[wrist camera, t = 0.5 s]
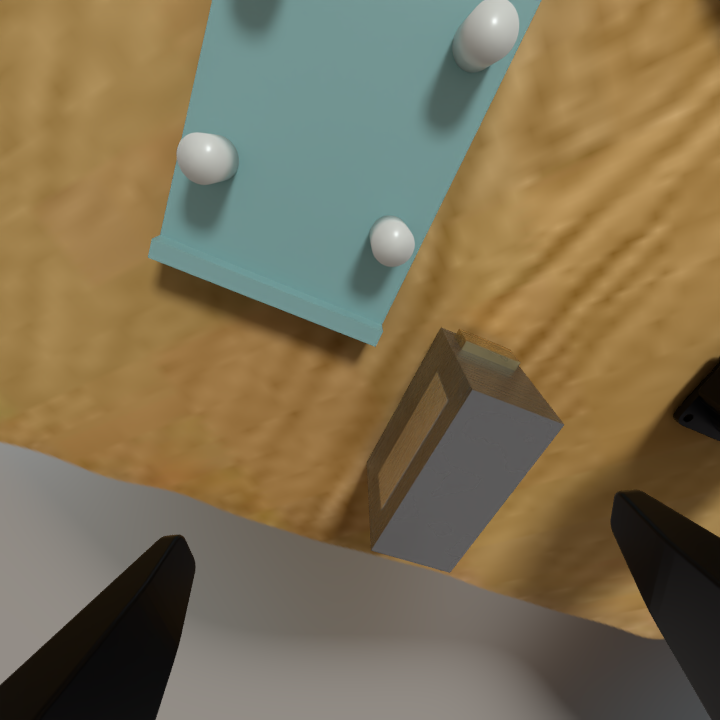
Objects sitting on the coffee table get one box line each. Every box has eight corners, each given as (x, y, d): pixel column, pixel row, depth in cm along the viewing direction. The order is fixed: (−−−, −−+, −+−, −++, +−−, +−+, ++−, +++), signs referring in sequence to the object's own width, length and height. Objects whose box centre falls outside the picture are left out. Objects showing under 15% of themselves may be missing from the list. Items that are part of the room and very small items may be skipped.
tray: (573, -81, 14) (626, -136, 11) (373, 331, 20) (376, 358, 18) (286, -275, 12) (267, -398, 9) (165, 248, 18) (134, 264, 16)
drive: (515, 348, 21) (571, 415, 16) (429, 481, 25) (450, 572, 20) (444, 318, 20) (478, 379, 15) (366, 461, 24) (370, 550, 19)
